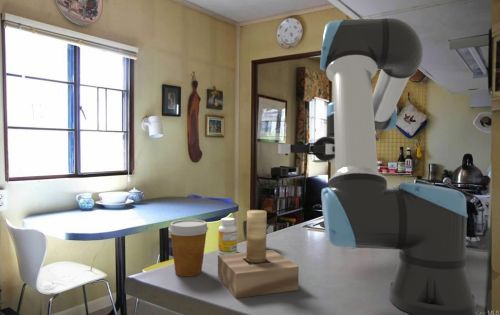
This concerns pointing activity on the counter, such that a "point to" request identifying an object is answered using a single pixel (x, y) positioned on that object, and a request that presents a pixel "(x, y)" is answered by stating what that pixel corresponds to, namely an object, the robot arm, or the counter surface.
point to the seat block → (257, 274)
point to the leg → (256, 236)
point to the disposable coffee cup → (188, 246)
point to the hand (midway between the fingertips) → (302, 148)
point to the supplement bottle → (227, 236)
